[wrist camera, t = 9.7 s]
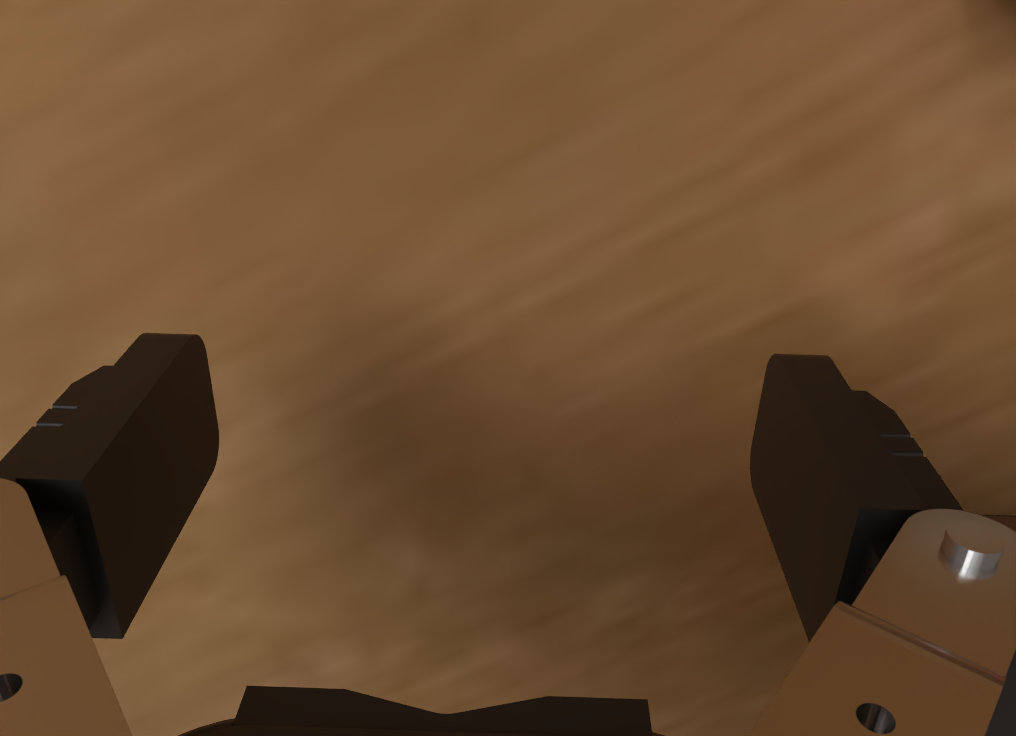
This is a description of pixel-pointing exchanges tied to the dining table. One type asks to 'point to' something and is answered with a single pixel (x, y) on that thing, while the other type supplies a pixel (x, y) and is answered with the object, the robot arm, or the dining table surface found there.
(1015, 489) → the dining table surface
